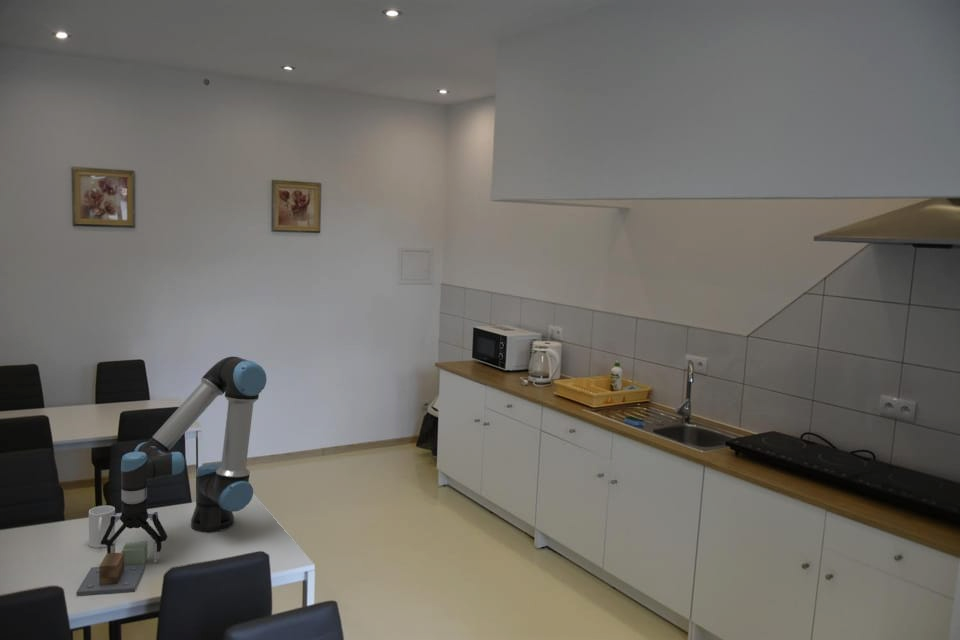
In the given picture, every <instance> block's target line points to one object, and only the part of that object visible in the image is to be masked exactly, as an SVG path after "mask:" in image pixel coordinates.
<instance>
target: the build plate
mask: <svg viewBox="0 0 960 640" xmlns="http://www.w3.org/2000/svg"><path fill="white" fill-rule="evenodd" d="M145 567H146V563H145V564H138V565H124V572H123V574H122V576H121V578H120V580H119V582H118V584H108V585H99V566H93V567H90V568H89V571H88V573H87V574H86V575H85V577H84V579H83V581H82V582H81V583H80V586H78V589H77V591H76V594H75V595H76V596H77V597H78V596H93V595H106V594H121V593H122V592H123V593H130V592H131V593H134V592H136V590H137V587H138V585H139V583H140V580H141V579H142V576H143V574H144V572H145V570H146V568H145ZM144 569H145V570H144ZM135 589H136V590H135Z"/></svg>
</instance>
